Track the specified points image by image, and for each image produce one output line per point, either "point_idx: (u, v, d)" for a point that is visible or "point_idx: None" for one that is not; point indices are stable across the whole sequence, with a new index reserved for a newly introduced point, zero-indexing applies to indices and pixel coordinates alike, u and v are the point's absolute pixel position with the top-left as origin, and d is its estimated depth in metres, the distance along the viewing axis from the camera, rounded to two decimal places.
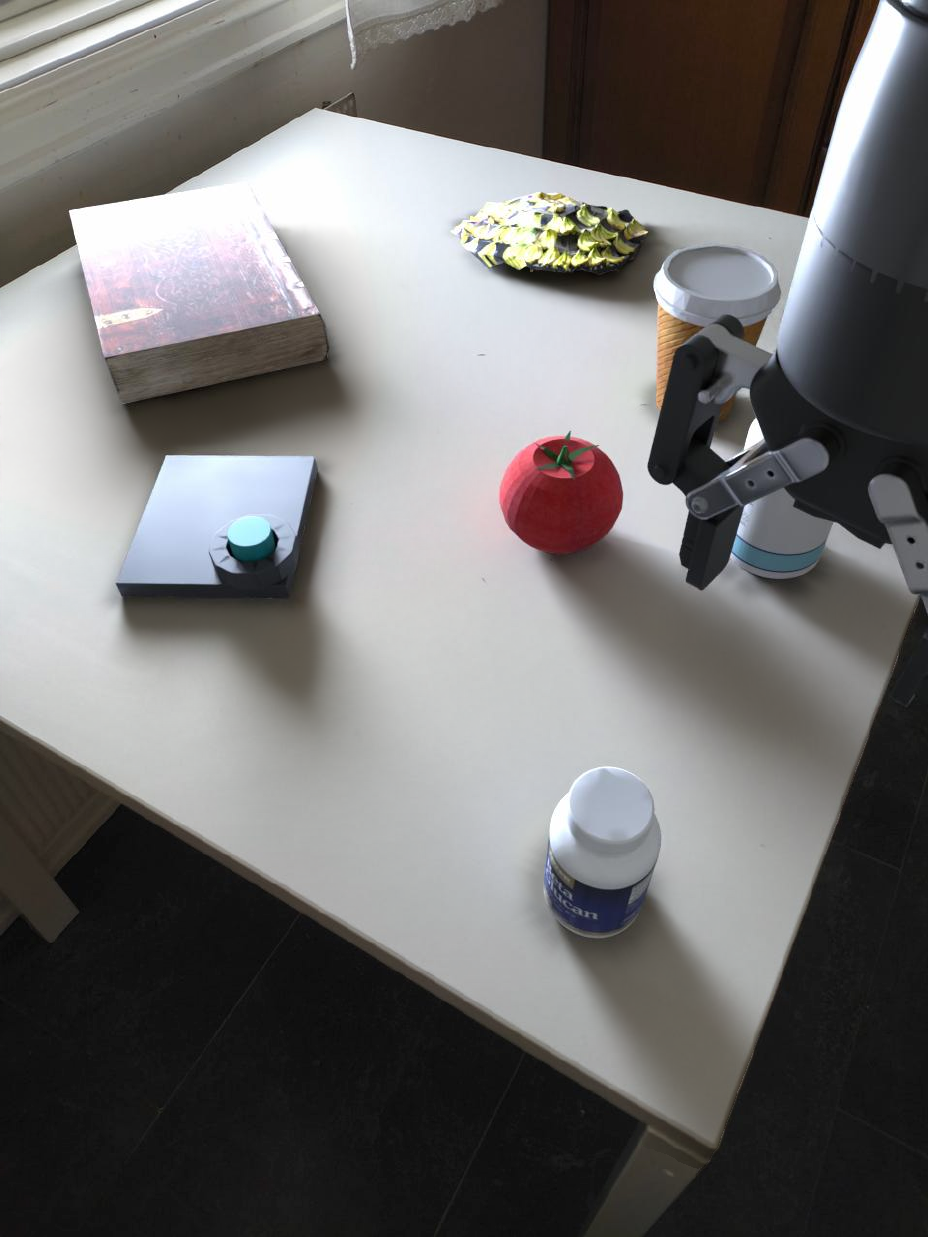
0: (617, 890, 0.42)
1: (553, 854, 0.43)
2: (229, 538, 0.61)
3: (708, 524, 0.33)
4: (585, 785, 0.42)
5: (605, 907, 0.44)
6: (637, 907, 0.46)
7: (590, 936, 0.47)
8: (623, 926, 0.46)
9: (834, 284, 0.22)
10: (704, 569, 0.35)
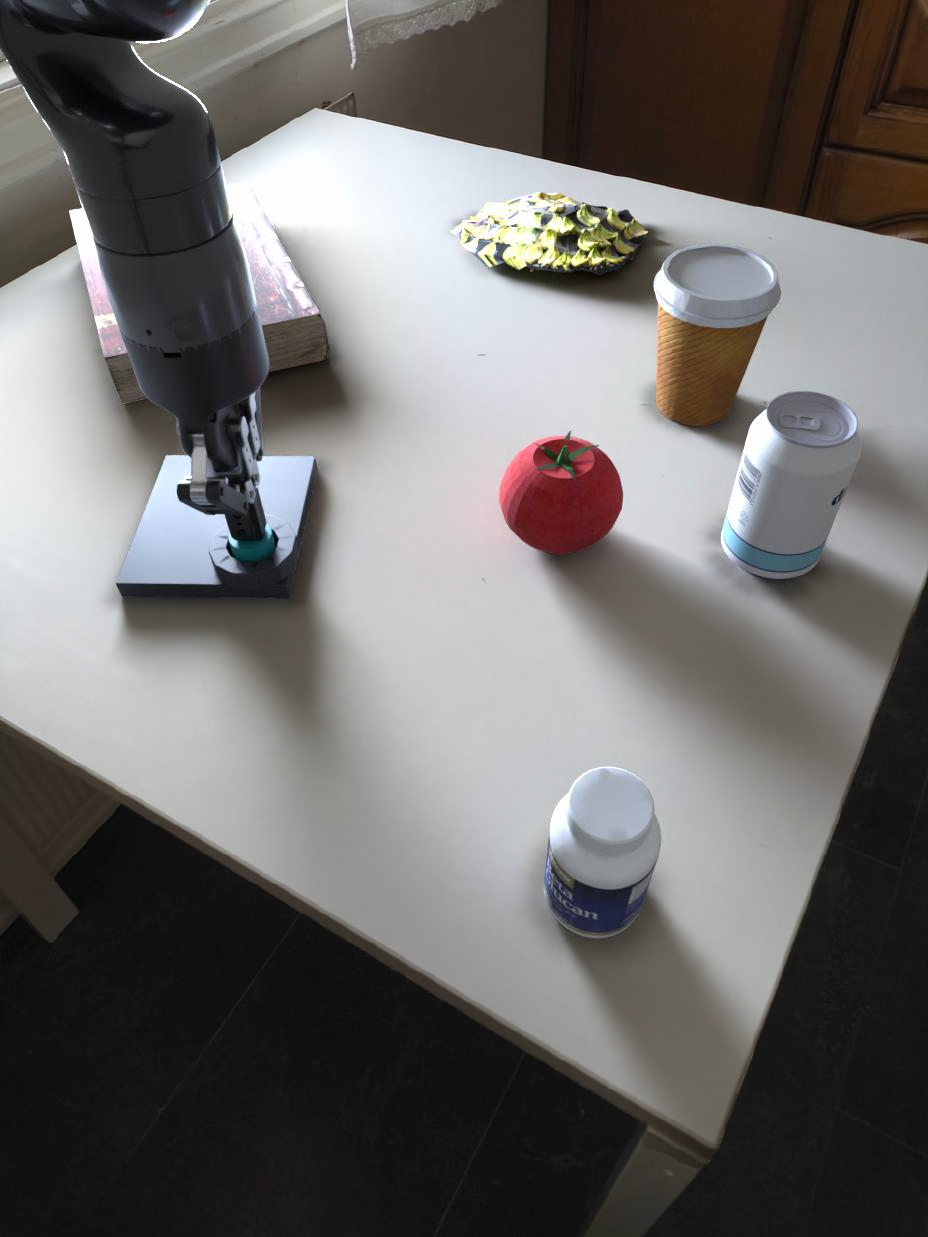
0: (617, 890, 0.42)
1: (553, 854, 0.43)
2: (230, 542, 0.62)
3: None
4: (585, 785, 0.42)
5: (605, 907, 0.44)
6: (637, 907, 0.46)
7: (590, 936, 0.47)
8: (623, 926, 0.46)
9: None
10: None
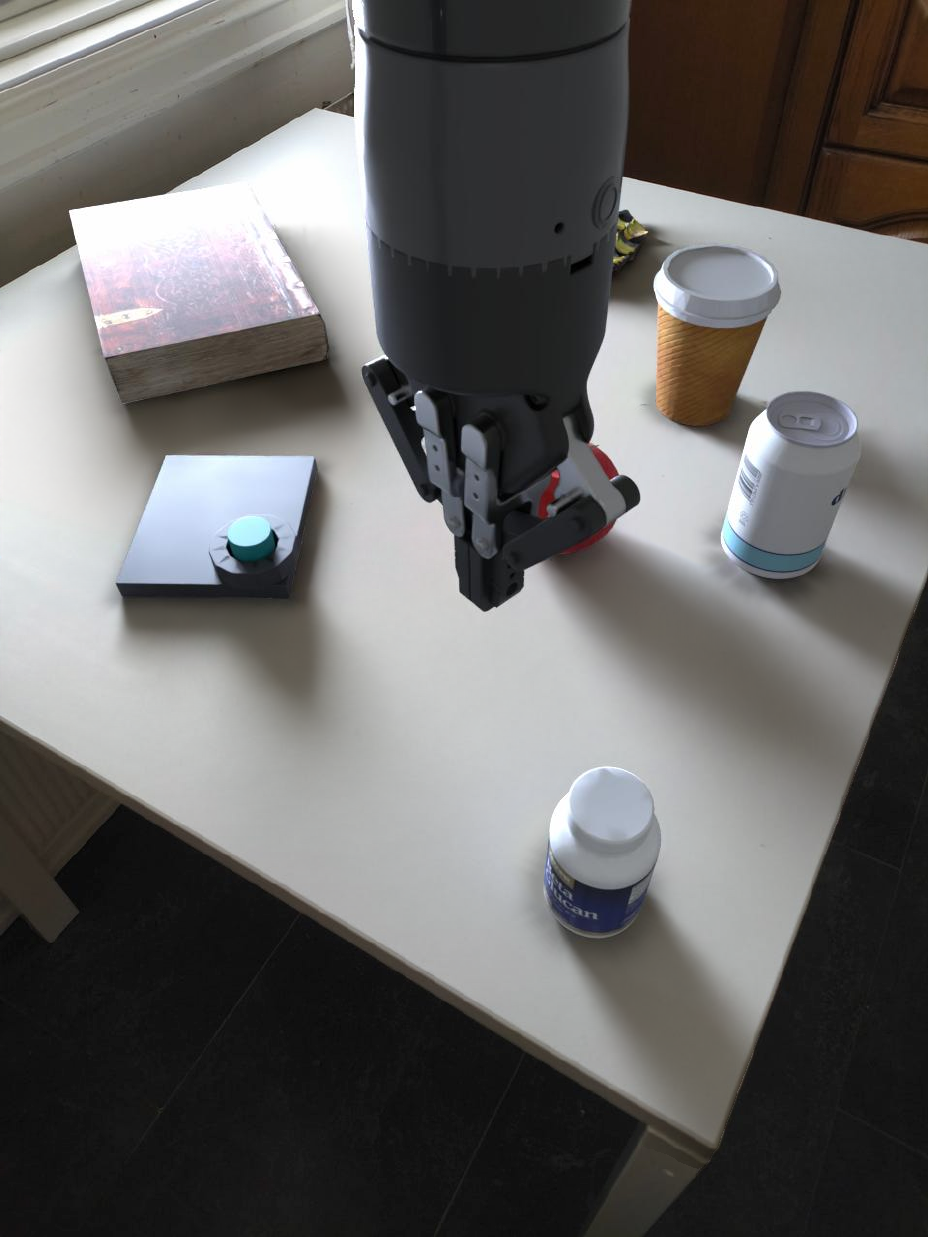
0: (617, 890, 0.42)
1: (553, 854, 0.43)
2: (229, 538, 0.61)
3: (463, 541, 0.36)
4: (585, 785, 0.42)
5: (605, 907, 0.44)
6: (637, 907, 0.46)
7: (590, 936, 0.47)
8: (623, 926, 0.46)
9: (370, 250, 0.27)
10: (469, 582, 0.38)
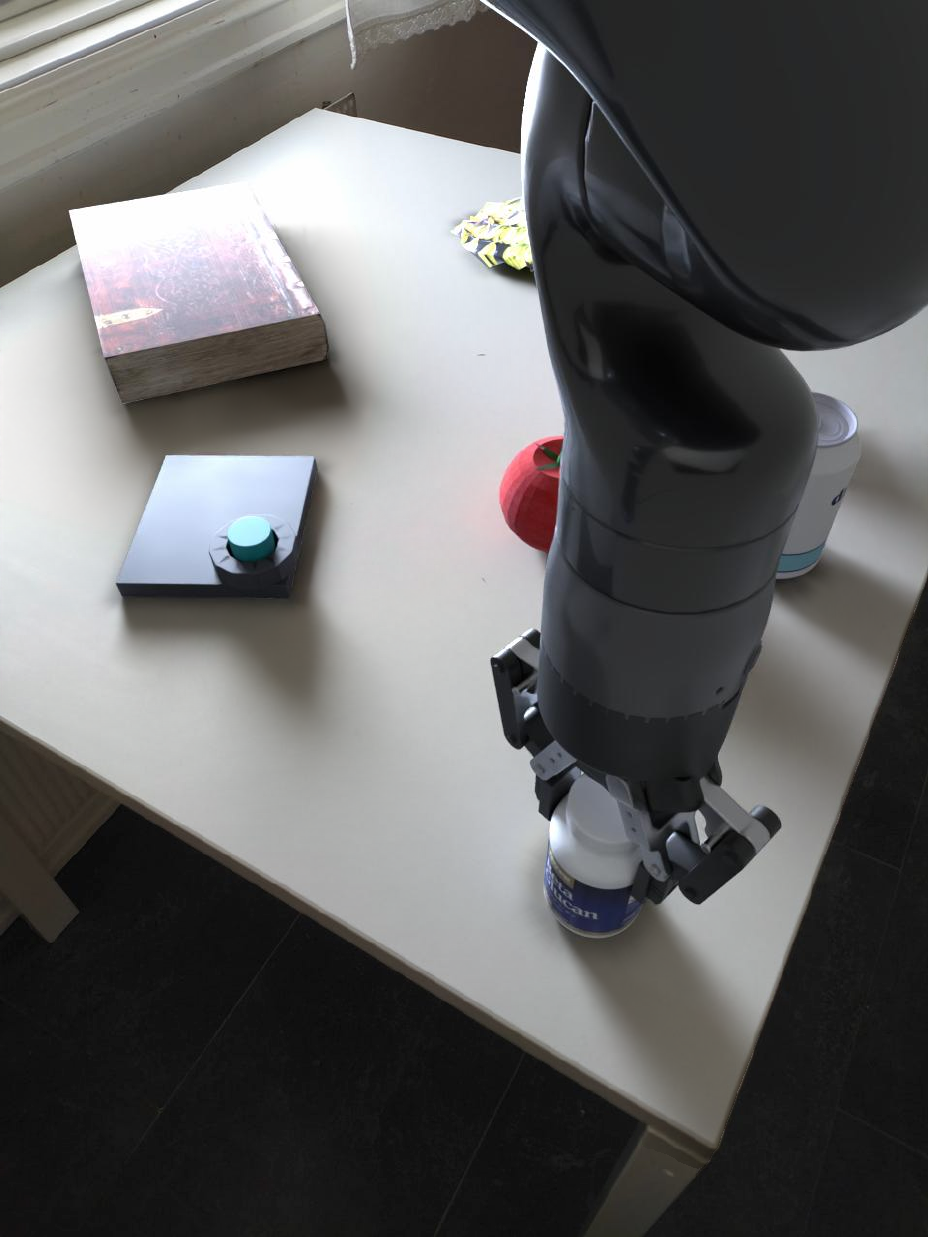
0: (617, 890, 0.42)
1: (553, 854, 0.43)
2: (229, 538, 0.61)
3: (546, 783, 0.43)
4: (585, 785, 0.42)
5: (605, 907, 0.44)
6: (637, 907, 0.46)
7: (590, 936, 0.47)
8: (623, 926, 0.46)
9: (547, 670, 0.32)
10: (549, 809, 0.44)
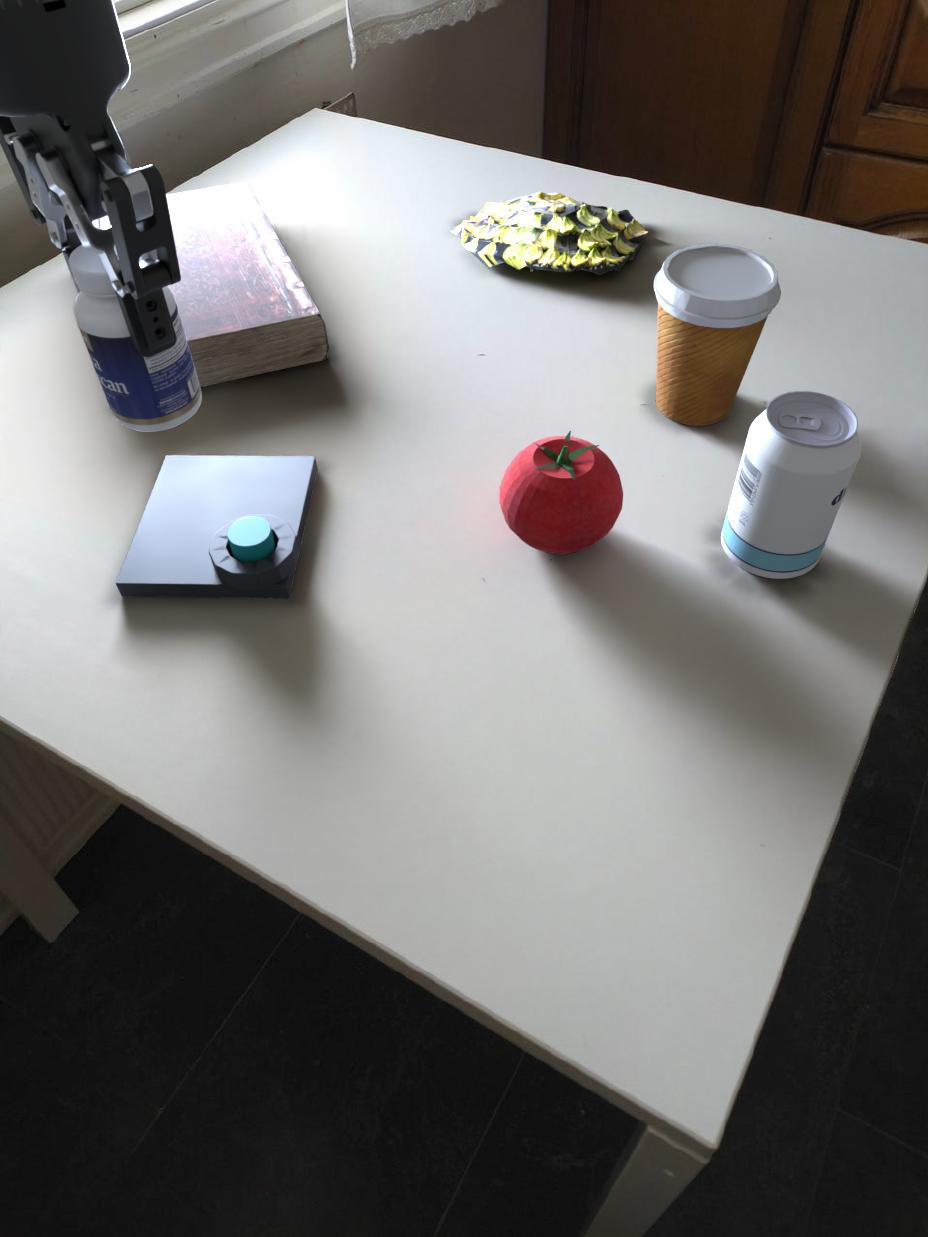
0: (121, 340, 0.48)
1: None
2: (229, 538, 0.61)
3: (64, 252, 0.49)
4: None
5: (125, 370, 0.50)
6: (171, 391, 0.51)
7: (139, 427, 0.53)
8: (165, 415, 0.52)
9: None
10: None
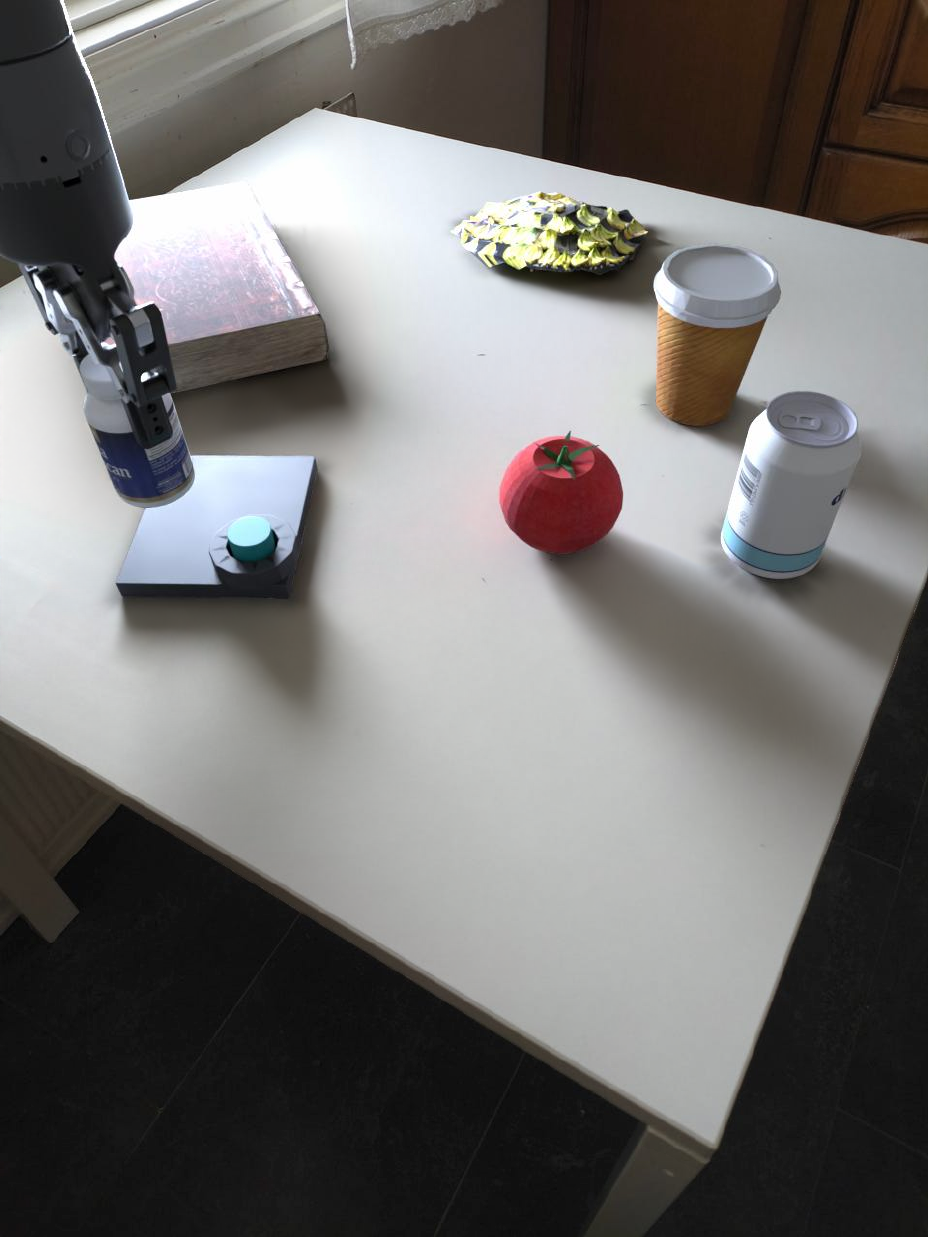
0: (125, 435, 0.56)
1: None
2: (229, 538, 0.61)
3: (75, 359, 0.56)
4: None
5: (128, 459, 0.57)
6: (168, 474, 0.59)
7: (140, 504, 0.60)
8: (163, 494, 0.60)
9: None
10: None
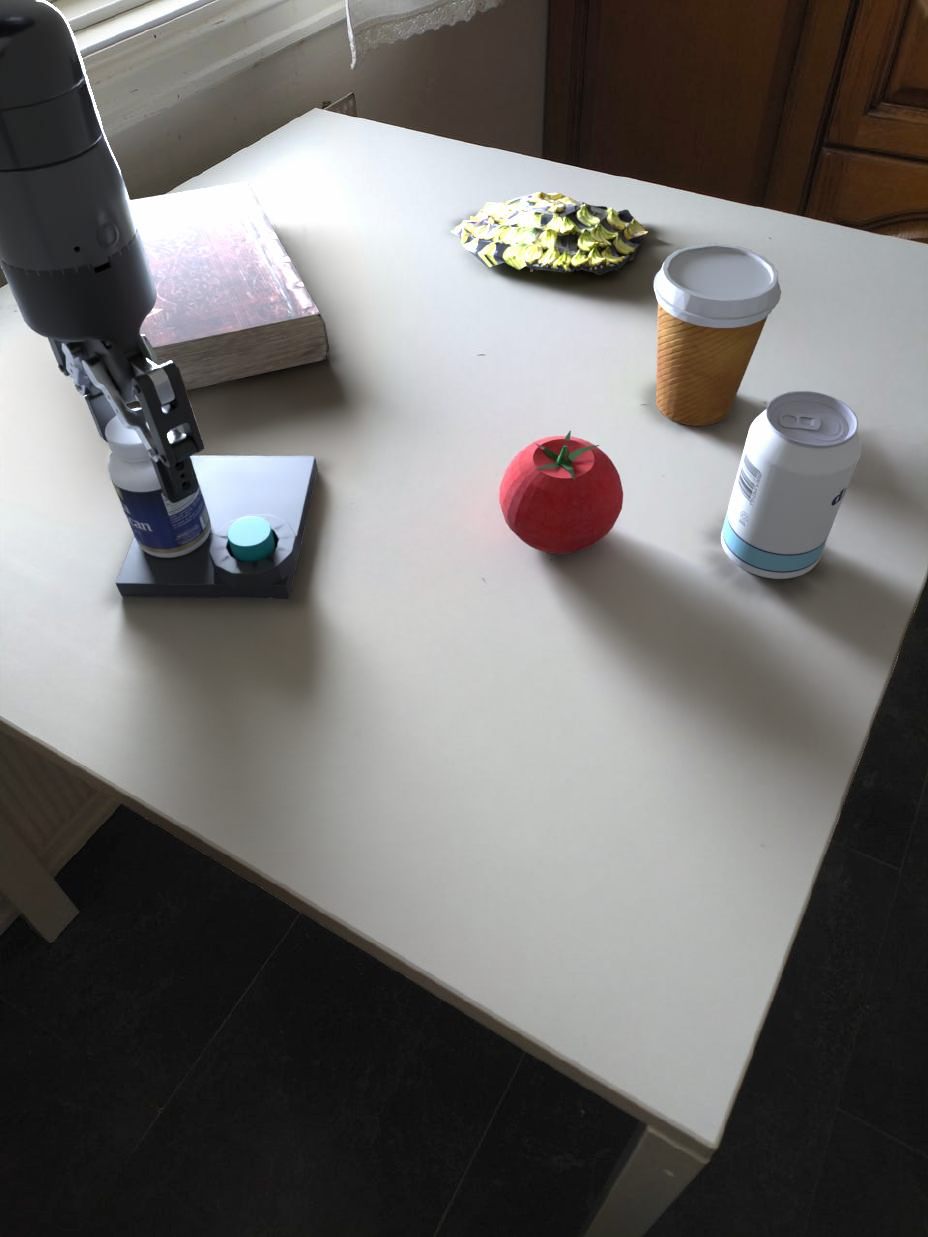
0: (147, 494, 0.59)
1: None
2: (229, 538, 0.61)
3: (86, 399, 0.60)
4: None
5: (149, 515, 0.61)
6: (187, 527, 0.63)
7: (160, 555, 0.64)
8: (181, 545, 0.63)
9: None
10: (100, 428, 0.61)
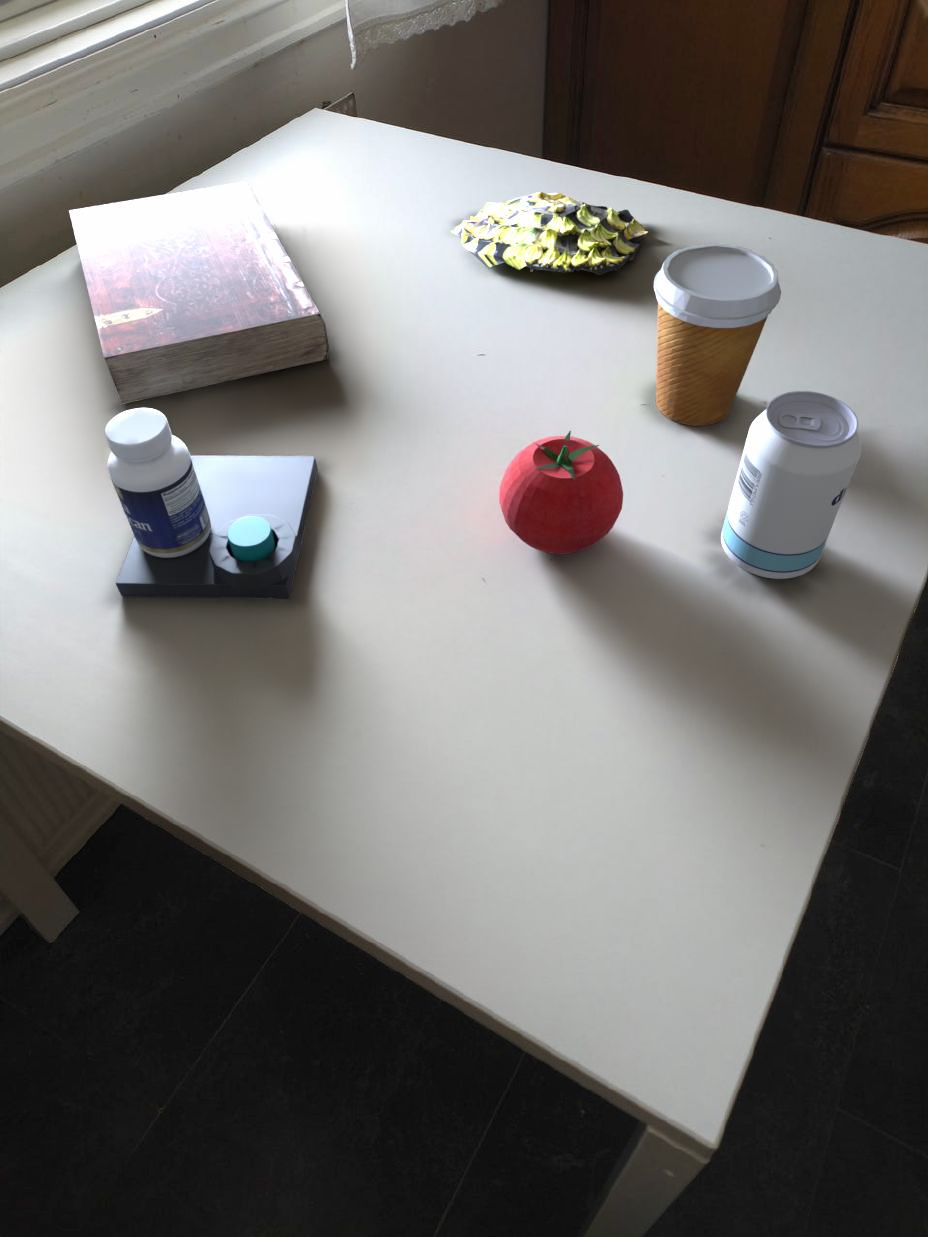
0: (147, 494, 0.59)
1: None
2: (229, 538, 0.61)
3: None
4: (122, 417, 0.59)
5: (149, 515, 0.61)
6: (187, 527, 0.63)
7: (160, 555, 0.64)
8: (181, 545, 0.63)
9: None
10: None
